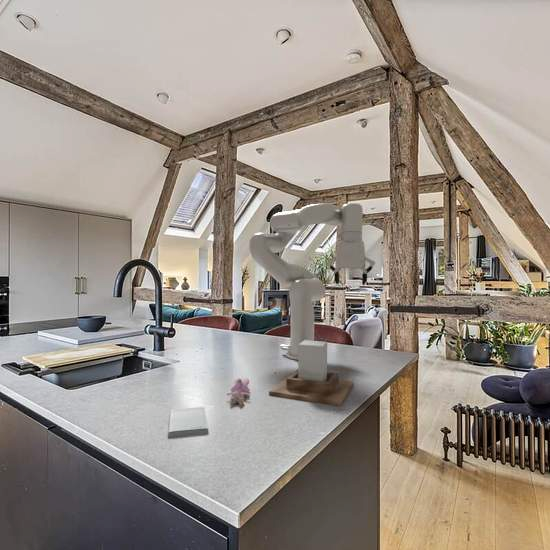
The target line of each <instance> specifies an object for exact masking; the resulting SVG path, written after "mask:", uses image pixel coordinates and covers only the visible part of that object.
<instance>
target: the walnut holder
mask: <svg viewBox="0 0 550 550" xmlns="http://www.w3.org/2000/svg"><path fill="white" fill-rule="evenodd" d="M339 376H340V374H339V372H336V371H328V370H327V382H319V381H311V380H304V379H298V369H297V370H295V371H294V372H291V373H290V374H288V376H286V377H284V379H282V380H281V381H280V382H279V383H277V384H276V385H275V386H273V387H272V388H271V389H270V390H269V391H268V395H269V396H274V397H280V398H287V399H295V400H300V401H305V402H306V401H307V402H313V403H319V404H325V403H326V404H325V405H331V404H332V406H337V405H338V406H339V407H341V406H342V404H343V403H342V402H344V401H345V399H346V397H347V396H348V393H349V392H350V391H351V389H350V388H352V386H353V385H354V380H350V379H343V378H340V377H339ZM346 395H347V396H346Z"/></svg>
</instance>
